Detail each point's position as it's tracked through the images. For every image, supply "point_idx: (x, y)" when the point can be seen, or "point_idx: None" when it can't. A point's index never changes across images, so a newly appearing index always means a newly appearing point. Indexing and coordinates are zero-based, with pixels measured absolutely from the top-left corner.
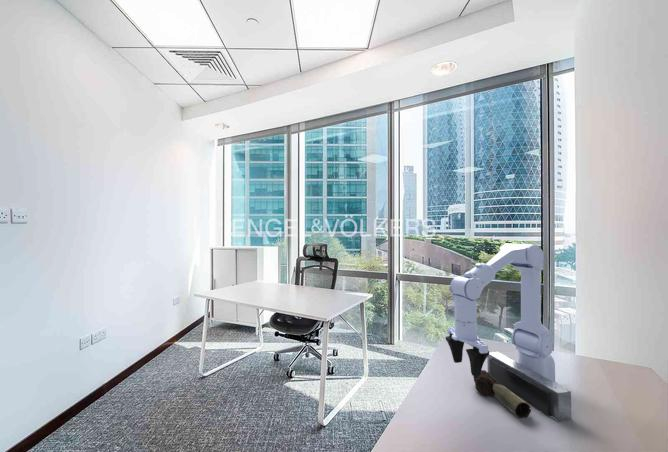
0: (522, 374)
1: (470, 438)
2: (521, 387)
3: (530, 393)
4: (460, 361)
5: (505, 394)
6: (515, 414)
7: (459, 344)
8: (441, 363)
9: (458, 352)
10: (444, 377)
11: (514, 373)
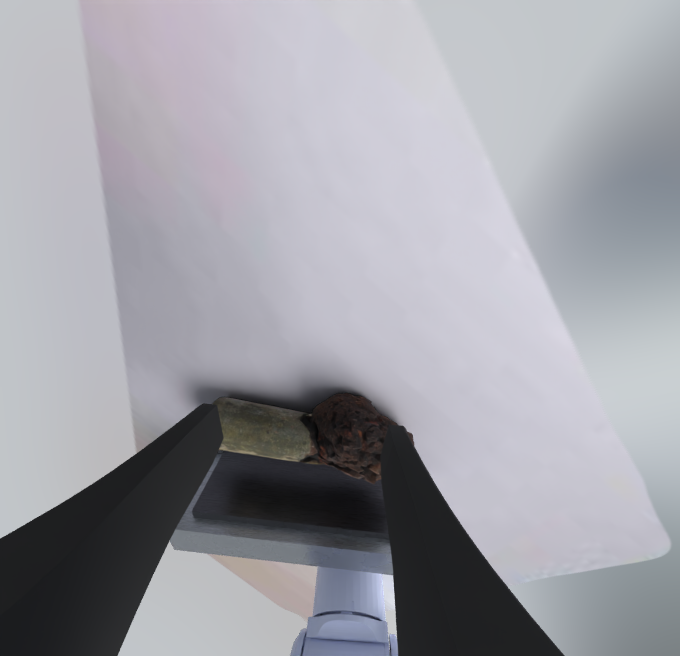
0: (286, 535)
1: (141, 188)
2: (289, 488)
3: (260, 483)
4: (382, 456)
5: (255, 435)
6: (222, 397)
7: (412, 643)
8: (567, 417)
9: (398, 523)
10: (488, 364)
11: (309, 525)
